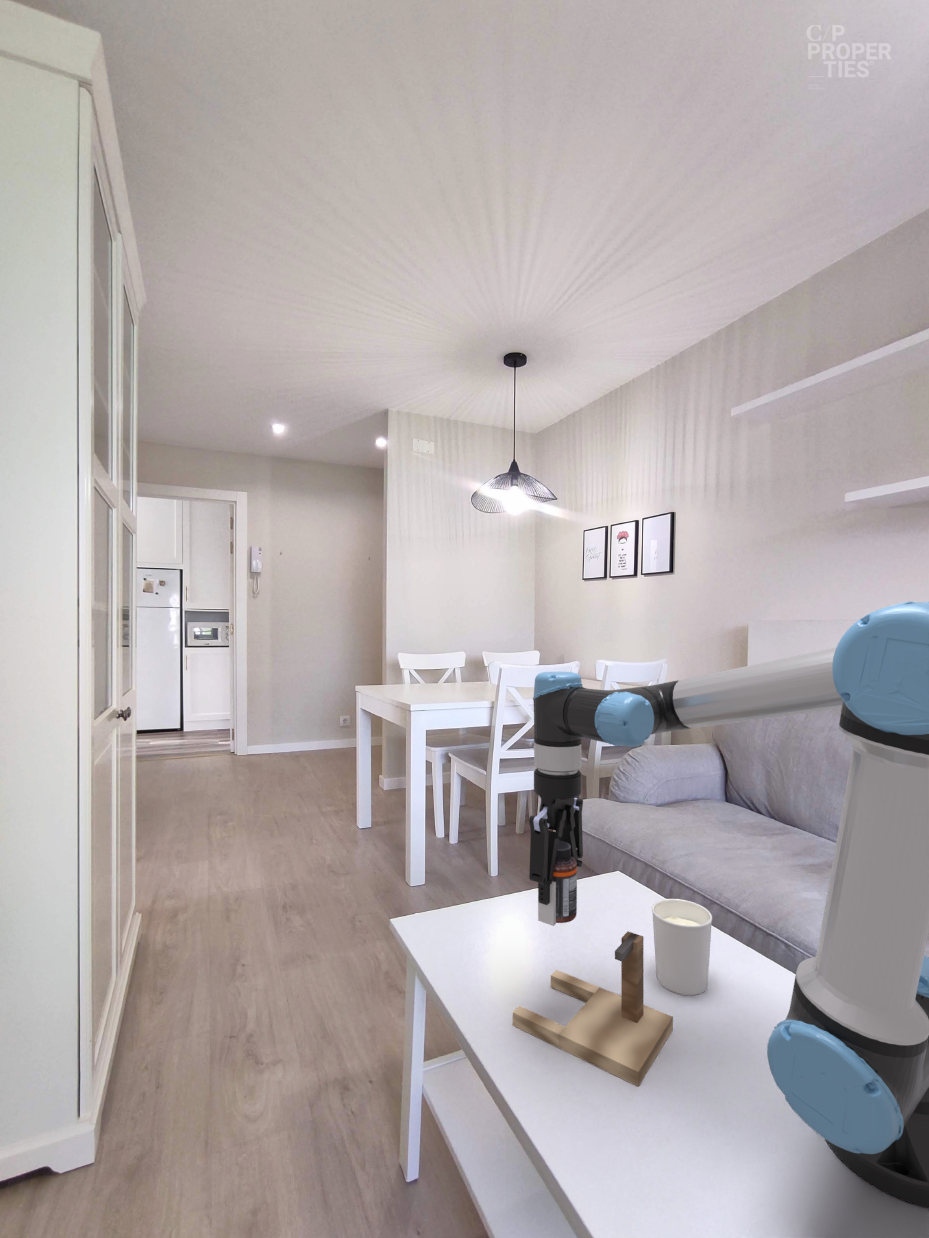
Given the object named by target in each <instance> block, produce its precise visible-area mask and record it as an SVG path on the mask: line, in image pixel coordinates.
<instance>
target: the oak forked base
mask: <svg viewBox="0 0 929 1238" xmlns="http://www.w3.org/2000/svg"><path fill="white" fill-rule="evenodd" d="M550 988H552V989H554V990H557V991H559V992H561V993H564V994H566V995H568V996H571V997H573V998H576V999H577V1000H581V1001H583V1002H585V1003H584V1005H582V1007H580V1009H579V1010H578V1011H577V1012H576V1014H575V1015H574V1016H573V1017H572V1018H571V1019H570V1021H568V1023H567V1024H566V1025H563V1024H560V1023H559V1022H556V1021H554V1020H551V1019H550V1018H547V1017H545V1016H543V1015H541V1014H538V1013H537V1012H534V1011H533V1010H530V1009H528V1008H525V1007H523V1006H522V1005H518V1007H516V1009H514V1010H513V1012H512V1026H513V1027H515V1028H517V1029H519V1030H521V1031H524V1032H526V1033H528V1034H530V1035H532V1036H534V1037H535V1038H537V1039H540V1040H542V1041H544V1042H546V1043H548V1044H550V1045H552V1046H554V1047H556V1048H558V1049H559V1050H563V1051H564V1052H566V1053H568V1054H571V1055H573V1056H575V1057H576V1058H579V1059H581V1060H582V1061H585V1062H587V1063H589V1064H590V1065H593V1066H595V1067H597V1068H599V1069H601V1070H603V1071H605V1072H607V1073H609V1074H611V1075H613V1076H615V1077H618V1078H620V1079H622V1080H624V1081H626V1082H628V1083H630V1084H631V1085H633V1086H636V1087H640V1085H641V1083H642V1082H643V1080H644V1078H645V1077H646V1075H647V1073H648V1071H650V1068H651V1067H652V1066H653V1063H654V1062H655V1060H656V1059H657V1057H658V1055H659V1054H660V1052H661V1050H662V1048H663V1047H664V1046H665V1044H666V1041H668V1038H669V1037H670V1035H671V1034H672V1032H673V1030H674V1016H673V1015H670V1014H667V1013H666V1012H662V1011H660V1010H658V1009H655V1008H654V1007H653V1008H652V1007H650V1006H647V1005H645V1004H643V1016H642V1017H641V1019H640V1020H639V1022H638V1023H635V1022H633V1021H631V1020H628V1019H626V1018H624V1017H621V995H620V994H617V993H615V992H613V991H610V990H607V989H605V988H603V987H600V986H598V985H595V984H592V983H590V982H588V981H585V980H582V979H580V978H578V977H576V976H572V975H570V974H568V973H565V972H563V971H561V970H558V969H555V971H554V972H552V974H551V975H550Z"/></svg>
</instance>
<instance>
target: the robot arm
mask: <svg viewBox="0 0 929 1238" xmlns="http://www.w3.org/2000/svg"><path fill="white" fill-rule="evenodd" d="M532 701H533V732H534V733H533V741H534V743H533V747H532V748H533V751H534V754H533V756H534V757H533V764H534V767H535V770H534V771H533V791H534V794H536V795H537V796H539V798H540V806H539V813H538V814H537V815H530V816H529V819H528V822H529V823H528V824H529V828H530V841H529V842H530V845H529V846H530V847H529V849H530V850H529V851H530V852H529V876H528V878H529V880H530V881H532V882H535V883H537V894H538V895H537V899H538V900H537V905H538V907H537V913H538V914H537V916H538V918H537V920H538V922H541V923H544V924H547V925H549V926H552V927H554V926H555V925H557V923H556V882H554V881H553V875H554V868H555V861H556V853H557V846H558V841H564V842H567V843H568V844H570V846H571V856H572V857H573V858H574V859H575V860H576V863H577V868H581V867H582V865H583V860H581V859H583V856H584V850H583V849H584V843H583V841H584V840H583V814H582V813H583V805H584V800H583V799H582V798H578V797H579V796H580V795H581V793H582V772H581V771H580V769H582V766H583V762H582V739H587V740H591V741H596V742H601V743H604V744H609V745H613V746H614V747H628V748H629V747H630V748H636V747H640V746H643V744H645V741H646V740H648V739H649V738H650V736H651V735H656V734H657V735H658V734H664V733H668V732H677V731H682V730H690V729H695V728H703V727H712V726H719V725H727V724H734V723H735V724H737V723H743V722H744V723H745V722H749V721H750V722H751V721H758V720H767V719H774V718H782V717H783V718H784V717H791V716H797V715H799V716H800V715H805V714H814V713H820V712H821V713H823V712H829V711H831V712H832V711H838V710H840V717H839V723H838V729H839V730H840V731H841V733H842V734H843V735H844V737H846V739H847V740H848V742H849V743H850V744H851V747H852V750H851V751H852V752H851V757H850V763H849V768H848V774H847V780H846V785H845V789H844V790H845V791H844V796H843V801H842V807H841V811H840V812H841V814H840V819H839V826H838V830H837V835H836V842H835V847H834V853H833V858H832V865H831V868H830V869H831V871H830V875H829V880H828V881H829V882H828V887H827V891H826V892H827V894H826V899H825V904H824V908H823V909H824V910H823V915H822V920H821V921H822V922H821V925H820V926H821V927H820V932H819V937H818V938H819V939H818V944H817V948H816V949H817V950H816V953H815V956H814V957H809V958H806V959H804V960H802V961H801V962H800V963H799V965H798V966H797V968H796V972H795V978H794V982H793V988H792V994H791V999H790V1005H789V1009H788V1013H787V1015H786V1017H785V1020H781V1021H780V1022H778V1023H777V1024H776V1026H774V1028H773V1030H772V1032H771V1034H770V1037H769V1039H768V1042H767V1048H766V1055H767V1056H766V1057H767V1063H768V1066H769V1067H768V1068H769V1069H770V1070H769V1071H770V1072H771V1075H772V1079H774V1082H775V1084H776V1086H777V1088H778V1089H779V1090H780V1091H781V1093H782V1094H783V1096H784V1098H785V1101H786V1102H787V1104H788V1106H789V1107H790V1108H791V1109H792V1110H793V1112H794V1114H796V1115H797V1117H799V1118H800V1119H801V1120H802V1121H803V1122H804V1123H805V1124H806V1125H807V1126H808V1127H809V1128H811V1129H812V1131H814V1132H815V1133H816V1134H818V1135H819V1136H820V1137H822V1138H823V1139H825V1141H826V1143H827V1144H828V1146H829V1147H830V1148H831V1150H832V1151H833V1152H834V1154H835V1155H836V1156H837V1157H838V1158H839V1159H840V1160H841V1162H843V1163H844V1164H845V1165H846V1166H847V1167H848V1168H849V1169H850V1170H852V1171H853V1172H854V1173H855V1174H856V1175H858V1176H859V1177H860V1178H862V1179H863V1180H864V1181H866V1182H867V1183H869V1184H871V1185H872V1186H874V1187H875V1188H877V1189H879V1190H881V1191H882V1192H884V1193H885V1194H886V1193H887V1194H888V1195H891V1196H892V1197H895V1198H897V1199H899V1200H902V1201H905V1202H908V1203H910V1204H912V1205H913V1204H914V1205H916V1206H920V1207H926V1208H929V956H927V955H925V954H926V953H925V952H926V948H927V947H926V946H927V942H928V937H929V601H921V602H920V601H918V602H917V601H907V602H899V603H895V604H893V605H889V606H888V605H887V606H886V607H883V608H880V609H876V610H874V611H872V612H870V613H868V614H866V615H863V617H861V618H860V619H858V620H857V621H855V623H853V624H852V625H851V626H849V628H847V630H846V631H845V632H844V634H843V635H842V636H841V638H840V640H839V642H838V644H837V645H836V647H833V648H827V649H823V650H819V651H814V652H810V653H804V654H800V655H794V656H790V657H784V658H780V659H775V660H770V661H766V662H761V663H755V664H752V665H746V666H742V667H740V666H739V667H736V668H732V669H728V670H723V671H717V672H713V673H708V674H704V675H703V674H701V675H696V676H693V677H688V678H683V679H680V680H679V679H678V680H672V681H668V682H662V683H658V684H651V685H645V686H636V687H628V688H619V689H618V688H617V689H606V690H605V689H595V688H586V687H583V684H582V676H581V675H580V674H579V673H577V672H573V671H572V672H571V671H543V672H540V673H538V674H537V675H535V678H534V688H533V697H532Z"/></svg>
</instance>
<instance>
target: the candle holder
mask: <svg viewBox="0 0 929 1238" xmlns="http://www.w3.org/2000/svg"><path fill="white" fill-rule="evenodd" d="M651 913H652V922H653V923H652V924H653V926H652V928H653V940H654V941H653V943H654V958H655V973H656V979H657V981H658V983H659V984H660V985H661V986H662V987H663V988H665V989H666V990H668V991H670V992H673V993H674V994H678V995H682V996H699V995H701V994H703V993H705V991H706V990H707V988H708V986H709V985H708V984H709V973H710V972H709V970H710V968H709V967H710V958H711V957H710V953H711V952H710V951H711V941H712V940H711V938H712V925H713V924H712V922H713V915H712V913H711V912H710V911H709V909H707V908H706V907H704V906H702V905H701V904H699V903H696V902H693V901H690V900H685V899H681V898H666V899H661V900H658V901H656V902H654V903H653V904H652V906H651Z"/></svg>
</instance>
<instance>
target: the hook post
mask: <svg viewBox="0 0 929 1238" xmlns="http://www.w3.org/2000/svg"><path fill="white" fill-rule="evenodd" d="M620 940H621V941H620V942H621V944H620V945H619V946H617V948H616V949H615V950H614V959H615V961H619V962H620V963H621V967H620V968H621V976H620V980H621V982H620V983H621V989H620V990H621V991H620V994H621V995H620V996H621V1017H624V1018H626V1019H628V1020H631V1021H633V1022H635V1023H638V1022H639V1020H640V1019H641V1017H642V1016H643V1005H644V936H643V935H640V934H637V933H635V932H631V931H626V932H625V933H624V935H623V936H622V937H621V939H620Z"/></svg>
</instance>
